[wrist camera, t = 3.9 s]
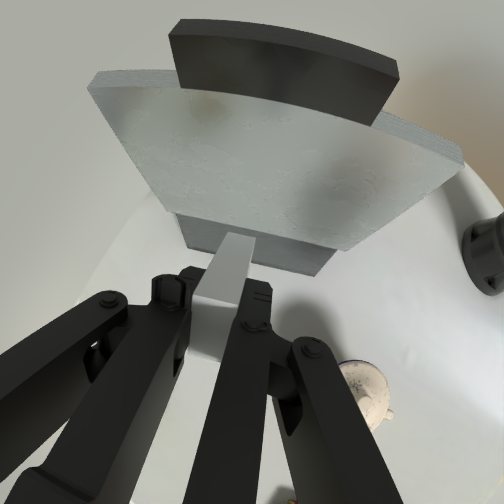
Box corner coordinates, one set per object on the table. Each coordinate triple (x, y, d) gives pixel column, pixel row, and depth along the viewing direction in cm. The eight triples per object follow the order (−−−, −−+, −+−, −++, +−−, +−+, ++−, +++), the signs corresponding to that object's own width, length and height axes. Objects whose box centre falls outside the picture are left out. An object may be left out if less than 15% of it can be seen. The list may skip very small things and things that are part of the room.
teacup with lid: (281, 413, 32) (302, 433, 21) (311, 351, 35) (344, 344, 25) (357, 439, 31) (401, 460, 20) (383, 381, 34) (433, 382, 23)
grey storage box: (342, 180, 46) (367, 132, 35) (334, 281, 39) (370, 247, 28) (204, 150, 47) (200, 95, 35) (168, 243, 40) (147, 197, 29)
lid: (495, 115, 7) (502, 136, 7) (347, 240, 28) (345, 251, 28) (78, 31, 8) (63, 47, 7) (170, 200, 28) (166, 211, 28)
